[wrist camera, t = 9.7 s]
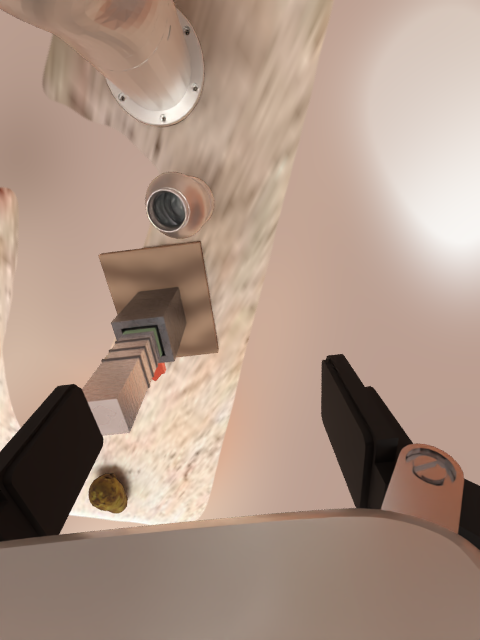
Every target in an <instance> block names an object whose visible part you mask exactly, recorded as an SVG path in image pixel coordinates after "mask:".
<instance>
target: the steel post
mask: <svg viewBox="0 0 480 640" xmlns="http://www.w3.org/2000/svg"><path fill="white" fill-rule="evenodd" d="M163 351H164V348H163V344H162V340H161V336H160V332H159V329H158V325H149V326H140V327H132V328H127V329H126V330H125V332H124V333H123V334H122V336H121V337H120V338H119V340H118V341H116V342H115V345H114V346H113V348H112V349H111V350H109V353H108V355H107V356H106V357H105V359H102V363H101V364H100V366H99V367H98V368H97V370H96V371H95V372H94V374H93V375H92V377H91V378H90V379H89V381H88V382H87V383H86V385H85V386H84V387H83V389H82V390H83V393H84V395H85V397H86V400H87V402H88V404H89V406H90V409H91V411H92V413H93V416H94V418H95V420H96V423H97V425H98V427H99V429H100V432H101V434H102V436H104V435H113V434H122V433H130V431H131V428H132V426H133V423H134V421H135V418H136V416H137V414H138V411H139V409H140V406H141V404H142V401H143V399H144V397H145V394H146V392H147V389H148V388H150V382H151V380H152V377H154V372H155V370H156V368H157V367H158V363H159V360H160V358H161V355H162V353H163Z"/></svg>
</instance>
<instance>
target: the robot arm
mask: <svg viewBox="0 0 480 640" xmlns="http://www.w3.org/2000/svg"><path fill="white" fill-rule="evenodd" d="M0 9H1V10H3V11H5V12H6V13H8V14H10V15H12V16H14V17H16V18H18V19H20V20H22V21H24V22H27V23H29V24H31V25H33V26H35V27H38V28H40V29H43V30H45V31H48V32H50V33H53V34H54V35H56V36H58V37H59V38H60V39H62V40H63V41H64V42H65V43H67V44H68V45H69V46H70V47H71V48H73V49H74V50H75V51H76V52H77V53H78V54H80V55H81V56H82V57H83V58H84V59H85V60H87V61H88V62H89V63H90V64H91V65H92V66H94V67H95V68H96V69H97V70H98V71H99V72H100V73H102V74H103V75H104V76H105V79H106V82H107V84H108V87H109V89H110V91H111V93H112V95H113V96H114V98H115V99H116V100H117V102H118V103H119V105H120V106H121V107H122V108H123V109H124V110H125V111H126V112H127V113H128V114H130V115H131V116H132V117H134V118H135V119H137V120H139V121H140V122H142V123H145V124H148V125H150V126H157V127H164V126H170V125H173V124H176V123H178V122H180V121H181V120H183V119H184V118H186V117H187V116H188V115H189V114H190V113H191V112H192V110H193V109H194V107H195V106H196V104H197V102H198V100H199V98H200V95H201V92H202V88H203V83H204V60H203V54H202V50H201V46H200V43H199V40H198V37H197V35H196V33H195V31H194V29H193V27H192V25H191V24H190V22H189V21H188V19H187V18H186V17H185V16H184V15H183V14H182V12H181V11H180V10H179V9H178V8H176V7H175V5H174V2H173V0H0ZM187 31H188V32H189V35H186V32H187ZM195 87H197V91H194V88H195ZM123 97H125V100H124V101H122V98H123ZM164 117H165V118H166V121H163V118H164ZM321 411H322V412H321V414H322V420H323V424H324V427H325V429H326V432H327V434H328V437H329V440H330V442H331V445H332V447H333V450H334V453H335V455H336V457H337V460H338V463H339V465H340V468H341V471H342V473H343V476H344V478H345V481H346V483H347V486H348V489H349V491H350V493H351V496H352V499H353V501H354V504H355V506H356V508H349V509H324V510H311V511H298V512H285V513H274V514H263V515H253V516H242V517H231V518H220V519H210V520H199V521H189V522H179V523H169V524H159V525H149V526H139V527H129V528H119V529H109V530H100V531H90V532H81V533H72V534H62V535H59V534H60V531H61V530H62V528H63V526H64V523H65V521H66V519H67V517H68V515H69V513H70V511H71V509H72V507H73V505H74V503H75V501H76V499H77V497H78V495H79V493H80V491H81V489H82V487H83V485H84V483H85V481H86V479H87V477H88V475H89V473H90V471H91V469H92V467H93V465H94V463H95V461H96V459H97V457H98V455H99V453H100V451H101V449H102V446H103V436H102V434H101V432H100V429H99V427H98V425H97V423H96V420H95V418H94V416H93V413H92V411H91V409H90V406H89V404H88V402H87V400H86V397H85V395H84V393H83V390H82V389H81V388H79V387H78V386H77V385H75V384H71V385H62V386H58V387H57V388H55V389H54V391H53V392H52V393H51V394H50V395H49V396H48V398H47V399H46V400H45V401H44V402H43V403H42V404H41V406H40V407H39V408H38V409H37V410H36V411H35V412H34V414H33V415H32V416H31V417H30V418H29V419H28V420H27V422H26V423H25V424H24V425H23V426H22V427H21V429H20V430H19V431H18V432H17V433H16V434H15V435H14V437H13V438H12V439H11V440H10V441H9V442H8V443H7V445H6V446H5V447H4V448H3V449H2V450H1V452H0V640H480V486H479V485H477V484H475V483H472V482H470V481H468V480H466V479H464V474H463V471H462V469H461V467H460V465H459V464H458V463H457V462H456V461H455V460H454V459H453V458H452V457H451V456H450V455H448V454H447V453H446V452H444V451H442V450H440V449H438V448H436V447H434V446H430V445H426V444H418V443H416V444H413V443H412V441H411V440H410V439H409V437H408V436H407V435H406V433H405V432H404V430H403V429H402V428H401V426H400V424H399V423H398V422H397V420H396V419H395V417H394V416H393V415H392V413H391V412H390V411H389V409H388V407H387V406H386V405H385V403H384V402H383V401H382V399H381V398H380V396H379V395H378V393H377V392H376V391H375V389H374V388H373V387H371V386H369V387H364V385H363V383H362V382H361V380H360V379H359V377H358V376H357V374H356V373H355V371H354V370H353V368H352V367H351V365H350V364H349V362H348V361H347V359H346V358H345V356H344V355H343V354H338V355H329V356H327V358H326V360H323V361H322V397H321Z"/></svg>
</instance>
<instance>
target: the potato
mask: <svg viewBox="0 0 480 640" xmlns="http://www.w3.org/2000/svg"><path fill="white" fill-rule="evenodd" d="M89 500H90V502H91V504H92V505H93V506H95V507H96V508H98V509H100V510H103V511H109V512H112V513H120V512H122V511H123V510H124V509H125V508H126V507H127V500H128V498H127V496H126V493H125V490H124V488H123V486H122V485H121V483H120V482H119V481H118V480H117V479H116V475H115V474H105V475H102V476H100V477H99V478H97V479H95V480H94V481H93V482H92V484H91V486H90V488H89Z"/></svg>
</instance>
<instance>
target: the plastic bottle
mask: <svg viewBox="0 0 480 640" xmlns="http://www.w3.org/2000/svg"><path fill="white" fill-rule="evenodd" d="M145 199H146V200H145V205H146V212H147V216H148V218H149V220H150V222H151V223H152V225H153V226H155V227H156V228H157V229H158V230H159V231H160V232H162V233H163V234H165V235H167V236H169V237H172V238H177V239H183V238H188V237H190V236H193V235H194V234H196V233H197V232H198V231H199V230H200V229H201V228H202V226H203V224H204V223H205V222H207V221H208V220H209V219H210V217H211V215H212V213H213V210H214V198H213V194H212V192H211V190H210V188H209V187H208V185H207V184H206V183H205V182H203V181H202V180H201V179H199V178H196V177H193V176H186V175H184V174H182V173H178V172H167V173H163V174H161V175H159V176H157V177H156V178H155V179H154V180H153V181H152V182H151V183H150V185H149V187H148V189H147V192H146V197H145Z"/></svg>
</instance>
